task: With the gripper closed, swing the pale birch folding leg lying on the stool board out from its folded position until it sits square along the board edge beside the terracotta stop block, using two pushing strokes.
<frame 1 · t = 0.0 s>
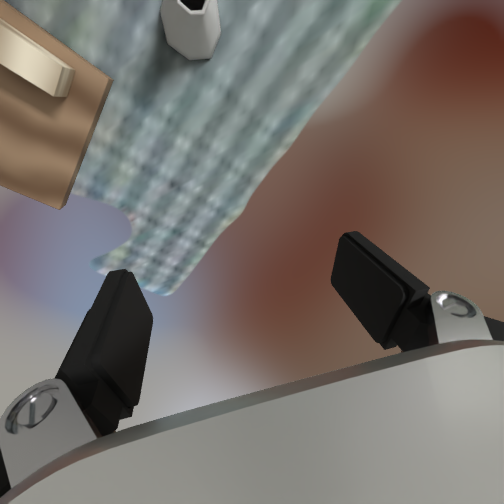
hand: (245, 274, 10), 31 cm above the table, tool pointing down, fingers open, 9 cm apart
flask: (191, 23, 27), on the table
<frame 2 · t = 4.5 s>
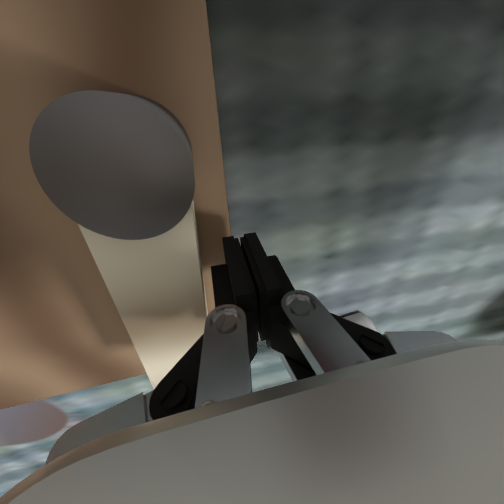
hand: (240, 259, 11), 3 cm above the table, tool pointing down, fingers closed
stool seat board: (43, 255, 12), on the table
folding leg: (165, 282, 10), point 4 cm above the table, hinge at 86.1°, touching gripper
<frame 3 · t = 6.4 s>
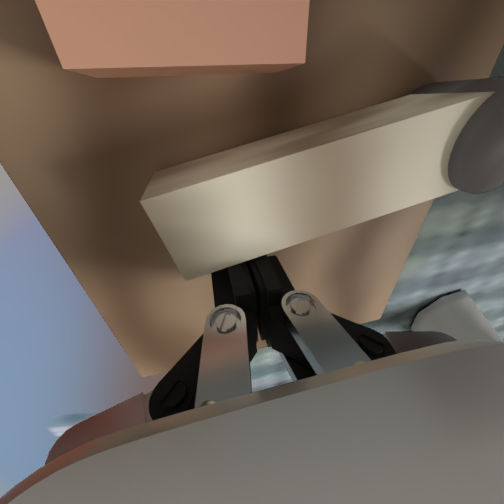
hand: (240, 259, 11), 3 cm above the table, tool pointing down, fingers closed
stool seat board: (264, 225, 14), on the table
leg stop: (187, 38, 7), resting on stool seat board
flask: (435, 311, 26), on the table
folding leg: (340, 172, 9), point 4 cm above the table, hinge at 10.7°, touching gripper
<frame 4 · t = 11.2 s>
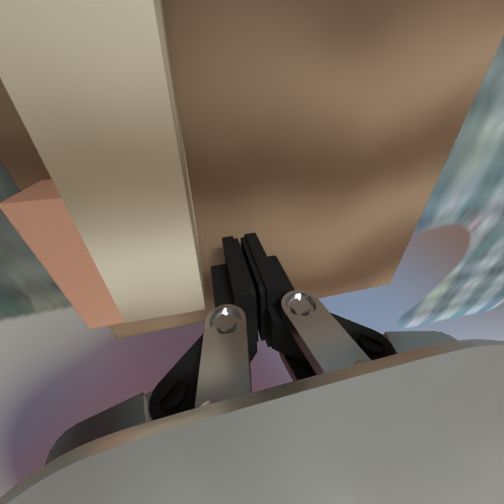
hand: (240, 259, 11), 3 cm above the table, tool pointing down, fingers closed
stool seat board: (259, 151, 11), on the table
leg stop: (100, 242, 10), resting on stool seat board
folding leg: (119, 121, 6), point 4 cm above the table, hinge at -2.1°, touching gripper
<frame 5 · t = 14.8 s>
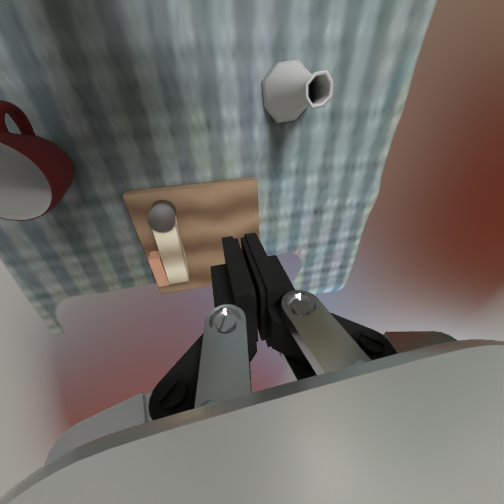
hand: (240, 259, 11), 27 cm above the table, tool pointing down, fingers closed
stool seat board: (203, 237, 40), on the table
leg stop: (160, 264, 39), resting on stool seat board
flask: (285, 93, 31), on the table
folding leg: (170, 244, 35), point 4 cm above the table, hinge at -1.4°
mug: (48, 150, 29), on the table
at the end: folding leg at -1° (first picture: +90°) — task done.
